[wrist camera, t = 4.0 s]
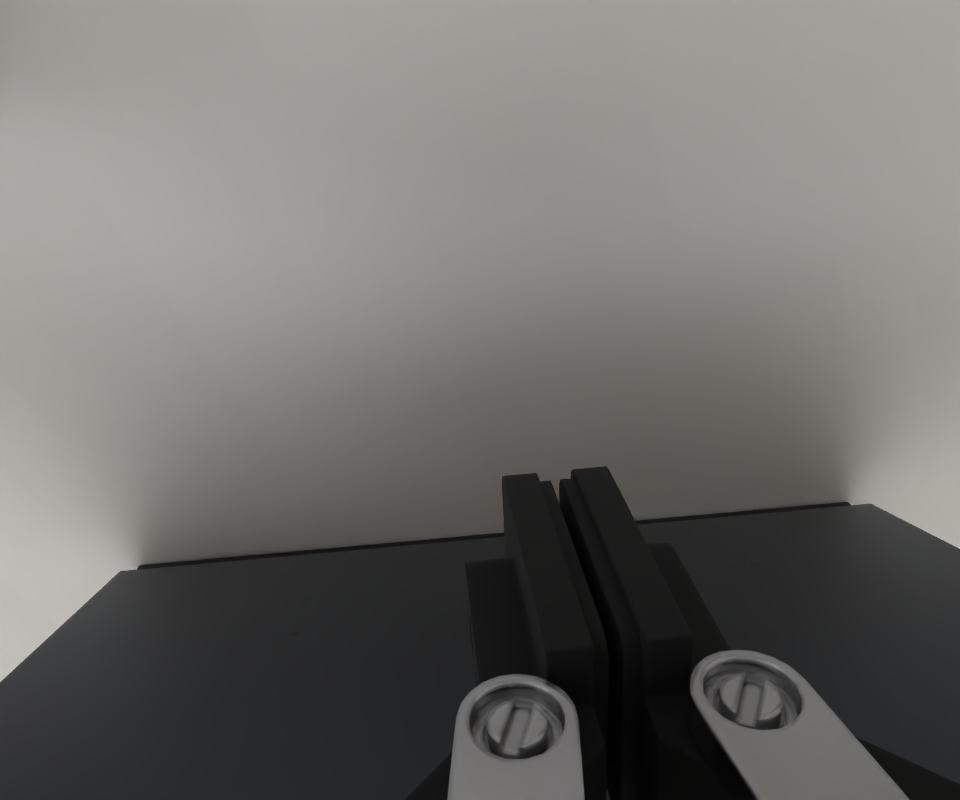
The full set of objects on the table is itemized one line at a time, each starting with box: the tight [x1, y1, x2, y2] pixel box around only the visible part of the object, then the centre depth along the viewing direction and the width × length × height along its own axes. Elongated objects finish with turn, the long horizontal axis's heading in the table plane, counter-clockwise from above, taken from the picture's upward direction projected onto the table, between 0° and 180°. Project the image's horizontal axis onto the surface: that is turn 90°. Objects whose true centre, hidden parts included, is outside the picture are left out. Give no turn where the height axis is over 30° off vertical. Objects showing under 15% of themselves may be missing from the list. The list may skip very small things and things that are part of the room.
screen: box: [0, 504, 960, 800], centre depth 19 cm, size 22×30×1 cm
